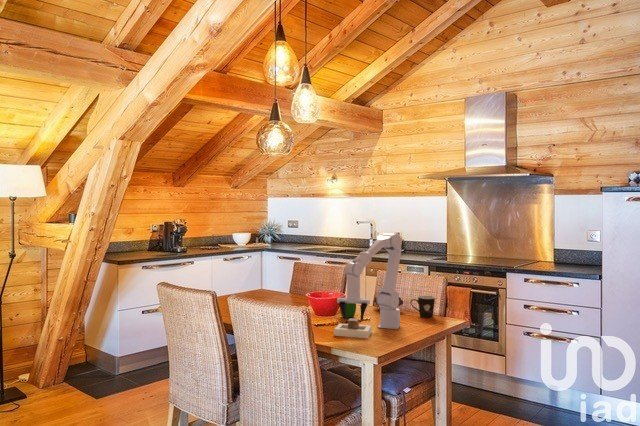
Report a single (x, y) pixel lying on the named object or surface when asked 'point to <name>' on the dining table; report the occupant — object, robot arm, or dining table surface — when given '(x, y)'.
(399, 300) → the pine cone
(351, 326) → the bracket block
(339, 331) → the well trough
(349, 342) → the dining table surface
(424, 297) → the coffee mug
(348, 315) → the bell pepper
